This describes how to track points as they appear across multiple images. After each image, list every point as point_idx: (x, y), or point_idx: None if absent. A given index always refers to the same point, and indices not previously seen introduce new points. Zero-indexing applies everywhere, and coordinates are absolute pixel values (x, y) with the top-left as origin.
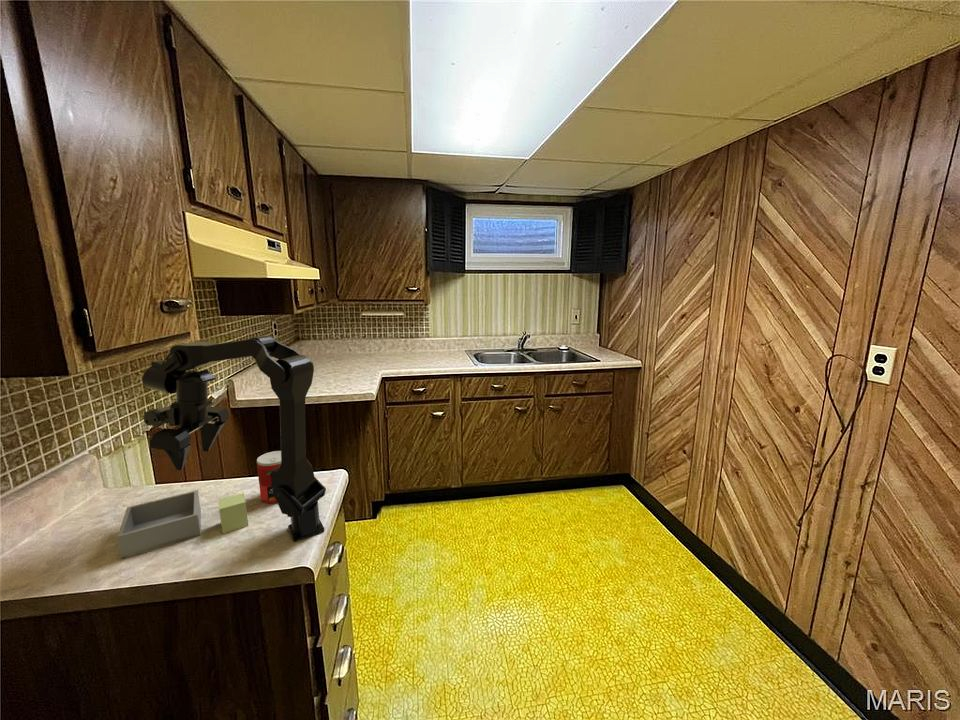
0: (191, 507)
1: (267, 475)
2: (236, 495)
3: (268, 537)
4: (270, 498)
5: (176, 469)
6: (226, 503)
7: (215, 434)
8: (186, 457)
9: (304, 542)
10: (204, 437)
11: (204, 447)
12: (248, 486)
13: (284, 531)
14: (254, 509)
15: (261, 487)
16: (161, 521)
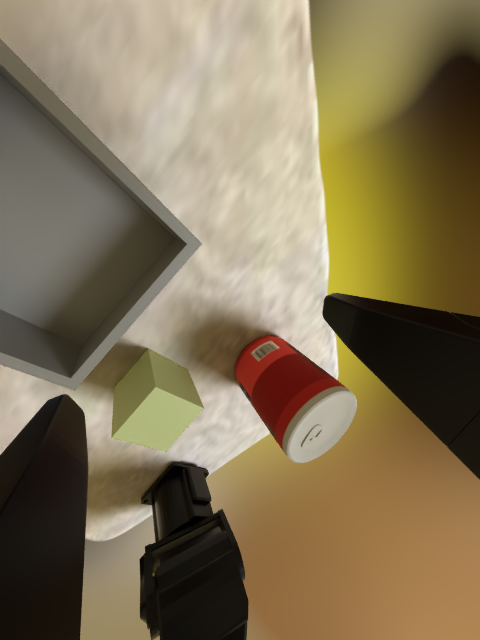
0: (166, 230)
1: (266, 424)
2: (187, 407)
3: (137, 461)
4: (238, 383)
5: (47, 403)
6: (144, 423)
7: (433, 432)
8: (75, 578)
9: (146, 506)
10: (426, 352)
11: (344, 316)
12: (291, 270)
13: (162, 464)
14: (210, 364)
15: (252, 380)
16: (75, 183)
